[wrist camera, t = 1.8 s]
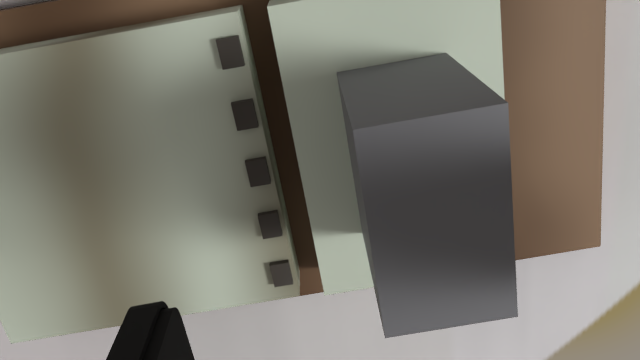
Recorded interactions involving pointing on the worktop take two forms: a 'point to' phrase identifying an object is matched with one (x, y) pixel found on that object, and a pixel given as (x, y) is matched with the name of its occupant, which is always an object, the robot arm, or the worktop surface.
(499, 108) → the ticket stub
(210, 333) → the worktop surface
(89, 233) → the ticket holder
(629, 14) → the worktop surface
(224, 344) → the worktop surface
